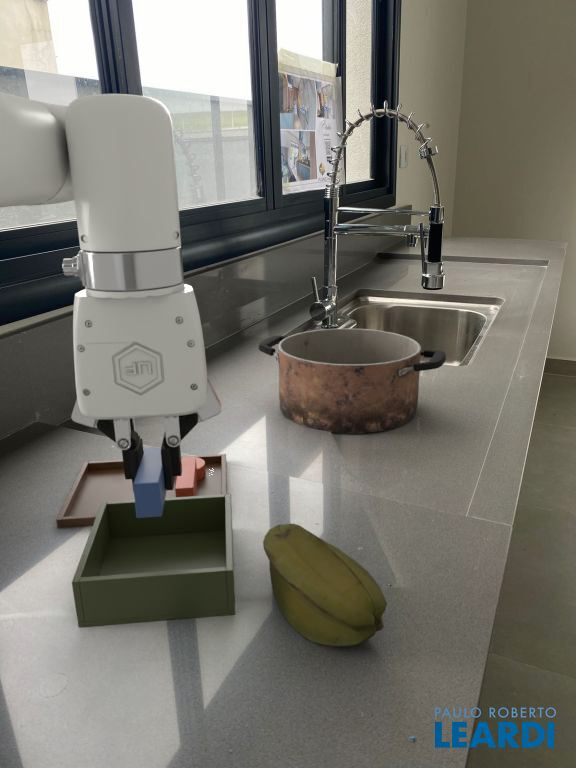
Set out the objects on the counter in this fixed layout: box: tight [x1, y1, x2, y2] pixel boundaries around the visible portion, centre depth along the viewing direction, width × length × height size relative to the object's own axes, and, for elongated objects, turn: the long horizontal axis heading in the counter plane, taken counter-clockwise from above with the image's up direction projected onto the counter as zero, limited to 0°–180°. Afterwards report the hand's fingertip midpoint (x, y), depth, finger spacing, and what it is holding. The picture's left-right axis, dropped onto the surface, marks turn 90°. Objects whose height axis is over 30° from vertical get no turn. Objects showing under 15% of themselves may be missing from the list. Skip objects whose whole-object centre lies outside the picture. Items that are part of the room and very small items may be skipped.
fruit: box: [262, 523, 388, 647], centre depth 51 cm, size 11×12×7 cm
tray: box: [55, 453, 228, 529], centre depth 72 cm, size 18×14×1 cm
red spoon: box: [175, 457, 206, 497], centre depth 72 cm, size 4×11×3 cm, turn 6°
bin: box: [71, 493, 236, 628], centre depth 57 cm, size 13×13×4 cm
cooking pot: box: [257, 327, 447, 435], centre depth 97 cm, size 30×22×11 cm
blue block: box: [133, 446, 167, 518], centre depth 53 cm, size 4×11×3 cm, turn 6°
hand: (155, 482), depth 53 cm, fingers closed on blue block, 2 cm apart
